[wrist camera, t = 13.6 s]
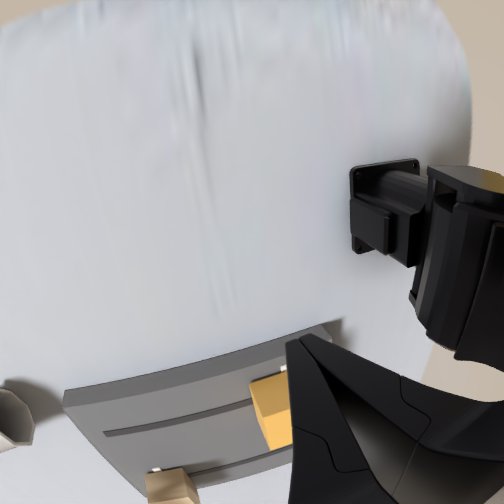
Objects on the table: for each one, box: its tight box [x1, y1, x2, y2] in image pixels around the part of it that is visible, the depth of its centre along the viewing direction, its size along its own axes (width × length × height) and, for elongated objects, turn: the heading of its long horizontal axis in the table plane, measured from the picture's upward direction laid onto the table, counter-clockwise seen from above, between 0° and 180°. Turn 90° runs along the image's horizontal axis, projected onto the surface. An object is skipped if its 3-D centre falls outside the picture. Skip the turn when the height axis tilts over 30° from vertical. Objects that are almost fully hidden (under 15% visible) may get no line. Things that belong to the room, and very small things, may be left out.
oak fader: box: [144, 468, 200, 504], centre depth 25 cm, size 4×5×4 cm
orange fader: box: [249, 371, 292, 451], centre depth 23 cm, size 4×5×4 cm
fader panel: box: [62, 324, 332, 498], centre depth 26 cm, size 22×18×2 cm
